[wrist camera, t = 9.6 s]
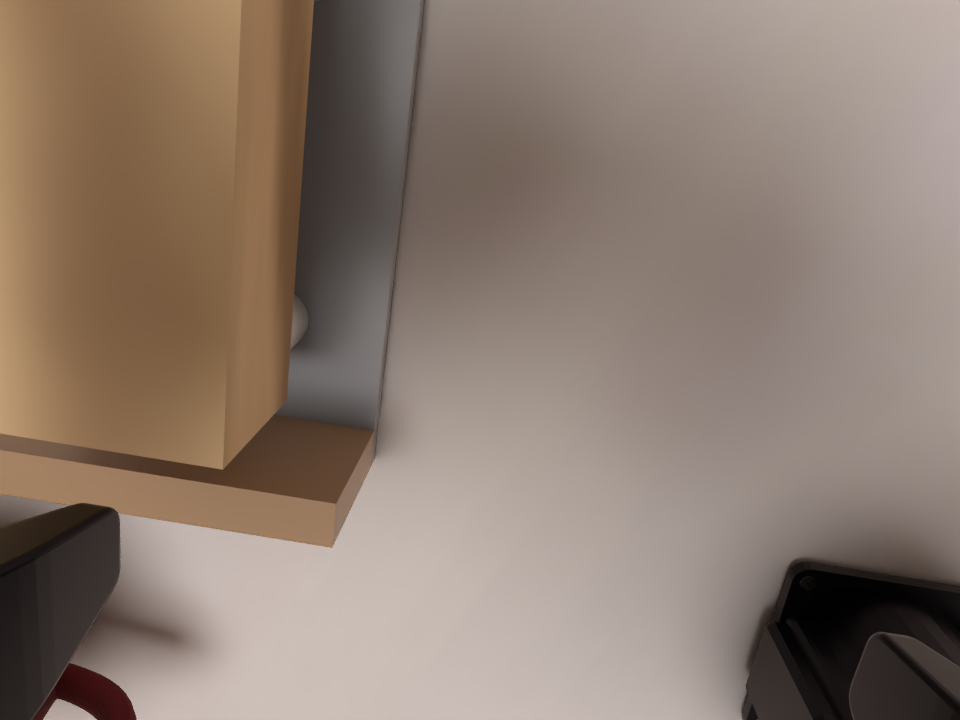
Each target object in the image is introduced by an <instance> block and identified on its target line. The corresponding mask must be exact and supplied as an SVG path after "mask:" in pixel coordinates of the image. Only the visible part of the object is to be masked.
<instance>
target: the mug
mask: <svg viewBox="0 0 960 720" xmlns="http://www.w3.org/2000/svg"><path fill="white" fill-rule="evenodd" d="M56 699H61V700H64V701H67V702H70V703H72V704H74V705H76V706H78V707H80V708H82V709H84V710H86V711H87V712H88V713H90V714H91V715H93V716H94V717H95V718H96V719H97V720H136V715H135V712H134V709H133V706H132V703H131V701H130V699H129V698H128V696H127V695H126V693H125V692H124V691H123V690H122V689H121V688H120V687H119V686H118V685H116V684H115V683H114V682H112V681H111V680H109V679H108V678H106V677H104V676H102V675H100V674H98V673H96V672H93V671H91V670H88V669H86V668H83V667H80V666H77V665H74V664H71V663H69V664H68V665H67V667H66V669H65V670H64V672H63V674H62V675H61V677H60V679H59V680H58V682H57V683H56V685H55V687H54V688H53V690H52V691H51V693H50V694H49V696H48V697H47V699H46V701H45V702H44V704H43V705H42V706H41V708H40V709H39V711H38V712H37V713H36V715H35V716H34V718H33V719H32V720H43V718H44V717H45V715H46V714H47V712H48V710H49V709H50V707H51V706H52V704H53V703H54V701H55V700H56Z"/></svg>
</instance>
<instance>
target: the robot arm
mask: <svg viewBox="0 0 960 720" xmlns="http://www.w3.org/2000/svg"><path fill="white" fill-rule="evenodd" d="M119 573H120V519H119V515H118V512H117V511H116V510H115V509H114V508H112V507H107V506H101V505H95V504H89V503H77V504H74V505H71V506H68V507H64V508H61V509H58V510H55V511H51V512H48V513H45V514H42V515H38V516H35V517H32V518H29V519H26V520H22V521H19V522H16V523H13V524H9V525H6V526H3V527H0V720H32V719H33V718H34V716H35V715H36V713H37V712H38V711H39V709H40V708H41V706H42V705H43V704H44V702H45V701H46V699H47V697H48V696H49V694H50V693H51V691H52V690H53V688H54V687H55V685H56V683H57V682H58V680H59V679H60V677H61V675H62V674H63V672H64V670H65V669H66V667H67V665H68V664H69V662H70V660H71V659H72V657H73V656H74V654H75V652H76V651H77V649H78V647H79V646H80V644H81V642H82V641H83V639H84V637H85V636H86V634H87V632H88V631H89V629H90V628H91V626H92V624H93V623H94V621H95V619H96V618H97V616H98V614H99V613H100V611H101V609H102V608H103V606H104V604H105V603H106V601H107V600H108V598H109V596H110V595H111V593H112V591H113V589H114V588H115V586H116V583H117V581H118V577H119ZM808 576H811V579H810V580H809V581H808V582H806V583H800V581H801V580H802V579H803V578H805V577H808ZM746 689H747V692H748V696H747V699H746V702H745V705H744V709H743V712H742V720H757V719H759V720H960V586H954V585H948V584H942V583H935V582H929V581H923V580H917V579H910V578H904V577H898V576H892V575H885V574H879V573H873V572H867V571H861V570H854V569H848V568H842V567H836V566H829V565H823V564H817V563H811V562H800V563H798V564H795V565H794V566H792V567H791V568H790V570H789V571H788V573H787V576H786V579H785V582H784V585H783V588H782V591H781V595H780V598H779V601H778V604H777V607H776V610H775V613H774V616H773V619H772V621H770V622H769V623H768V624H767V625H766V626H765V628H764V631H763V634H762V637H761V640H760V643H759V646H758V649H757V652H756V656H755V659H754V662H753V665H752V668H751V671H750V674H749V677H748V680H747V684H746Z"/></svg>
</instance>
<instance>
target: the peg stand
mask: <svg viewBox="0 0 960 720" xmlns="http://www.w3.org/2000/svg"><path fill="white" fill-rule="evenodd" d="M423 9H424V0H314V9H313V23H312V38H311V53H310V67H309V82H308V97H307V111H306V126H305V141H304V155H303V170H302V185H301V199H300V214H299V229H298V243H297V258H296V273H295V287H294V302H293V317H292V331H291V346H290V361H289V375H288V390H287V401H286V402H285V403H284V404H283V405H282V406H281V407H280V409H279V410H278V411H277V412H276V413H275V414H274V415H273V416H272V417H271V418H270V419H269V420H268V421H267V423H266V424H265V425H264V426H263V427H262V428H261V429H260V430H259V431H258V432H257V433H256V434H255V436H254V437H253V438H252V439H251V440H250V441H249V442H248V443H247V444H246V445H245V446H244V447H243V448H242V450H241V451H240V452H239V453H238V454H237V455H236V456H235V457H234V458H233V459H232V460H231V461H230V463H229V464H228V465H227V466H226V467H225V468H224V469H223V470H222V469H216V468H210V467H204V466H197V465H191V464H185V463H179V462H173V461H167V460H161V459H154V458H148V457H142V456H136V455H130V454H124V453H118V452H111V451H105V450H99V449H93V448H87V447H81V446H74V445H68V444H62V443H56V442H50V441H44V440H38V439H31V438H25V437H19V436H13V435H7V434H1V433H0V494H3V495H9V496H16V497H22V498H28V499H34V500H40V501H47V502H53V503H59V504H65V505H74V504H77V503H89V504H95V505H101V506H107V507H112V508H114V509H115V510H116V511H117V512H118V513H121V514H127V515H133V516H139V517H146V518H152V519H158V520H164V521H170V522H177V523H183V524H189V525H195V526H201V527H208V528H214V529H220V530H226V531H232V532H238V533H245V534H251V535H257V536H263V537H269V538H276V539H282V540H288V541H294V542H300V543H307V544H313V545H319V546H325V547H331V548H332V547H333V545H334V543H335V541H336V538H337V536H338V534H339V532H340V530H341V528H342V526H343V524H344V522H345V520H346V517H347V515H348V513H349V511H350V509H351V507H352V505H353V503H354V501H355V499H356V496H357V494H358V492H359V490H360V488H361V486H362V484H363V482H364V480H365V478H366V475H367V473H368V471H369V469H370V467H371V465H372V463H373V461H374V458H375V449H376V440H377V431H378V421H379V412H380V403H381V394H382V385H383V376H384V366H385V357H386V348H387V339H388V330H389V321H390V311H391V302H392V293H393V284H394V275H395V266H396V256H397V247H398V238H399V229H400V220H401V211H402V201H403V192H404V183H405V174H406V165H407V156H408V146H409V137H410V128H411V119H412V110H413V101H414V91H415V82H416V73H417V64H418V55H419V46H420V36H421V27H422V18H423Z"/></svg>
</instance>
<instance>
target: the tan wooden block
mask: <svg viewBox="0 0 960 720" xmlns="http://www.w3.org/2000/svg"><path fill="white" fill-rule="evenodd" d="M313 9H314V0H0V433H1V434H7V435H13V436H19V437H25V438H31V439H38V440H44V441H50V442H56V443H62V444H68V445H74V446H81V447H87V448H93V449H99V450H105V451H111V452H118V453H124V454H130V455H136V456H142V457H148V458H154V459H161V460H167V461H173V462H179V463H185V464H191V465H197V466H204V467H210V468H216V469H222V470H223V469H224V468H225V467H226V466H227V465H228V464H229V463H230V461H231V460H232V459H233V458H234V457H235V456H236V455H237V454H238V453H239V452H240V451H241V450H242V448H243V447H244V446H245V445H246V444H247V443H248V442H249V441H250V440H251V439H252V438H253V437H254V436H255V434H256V433H257V432H258V431H259V430H260V429H261V428H262V427H263V426H264V425H265V424H266V423H267V421H268V420H269V419H270V418H271V417H272V416H273V415H274V414H275V413H276V412H277V411H278V410H279V409H280V407H281V406H282V405H283V404H284V403H285V402H286V401H287V390H288V375H289V361H290V346H291V331H292V317H293V302H294V287H295V273H296V258H297V243H298V229H299V214H300V199H301V185H302V170H303V155H304V141H305V126H306V111H307V97H308V82H309V67H310V53H311V38H312V23H313Z"/></svg>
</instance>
